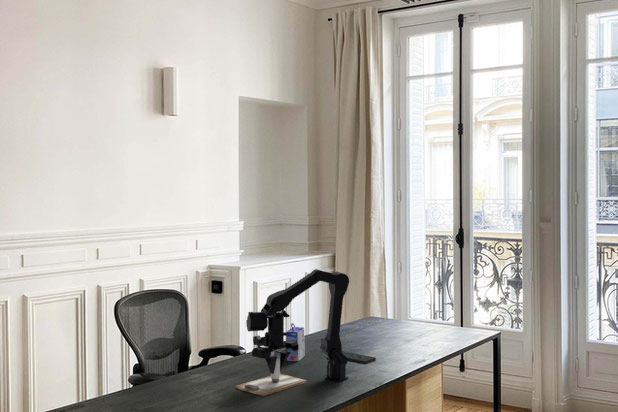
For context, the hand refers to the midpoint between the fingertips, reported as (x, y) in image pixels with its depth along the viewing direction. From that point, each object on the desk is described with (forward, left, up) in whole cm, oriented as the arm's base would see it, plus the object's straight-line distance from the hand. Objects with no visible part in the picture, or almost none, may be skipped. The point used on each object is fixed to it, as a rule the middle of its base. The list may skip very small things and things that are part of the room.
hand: (275, 372), depth 249 cm
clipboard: (+1, +1, -4) cm, 5 cm away
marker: (0, 0, -3) cm, 3 cm away
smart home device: (+4, -49, -5) cm, 49 cm away
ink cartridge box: (+21, -33, -5) cm, 39 cm away
